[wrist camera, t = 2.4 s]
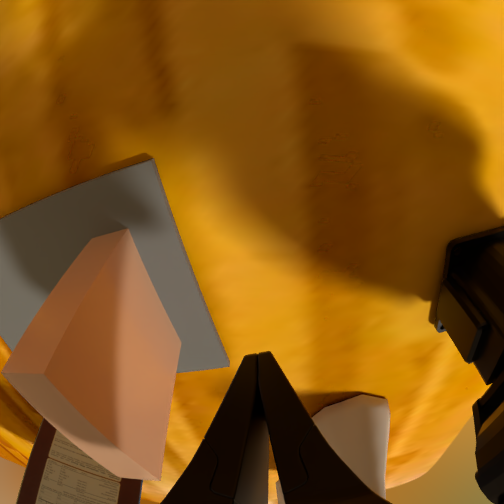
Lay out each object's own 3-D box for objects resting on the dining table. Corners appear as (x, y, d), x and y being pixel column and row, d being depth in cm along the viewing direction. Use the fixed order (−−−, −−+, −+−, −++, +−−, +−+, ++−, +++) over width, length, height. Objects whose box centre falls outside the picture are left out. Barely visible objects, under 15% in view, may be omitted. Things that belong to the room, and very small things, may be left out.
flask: (285, 423, 22) (298, 540, 13) (366, 380, 20) (404, 509, 11) (333, 444, 25) (350, 537, 16) (402, 408, 22) (434, 507, 14)
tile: (128, 228, 13) (43, 373, 6) (181, 342, 16) (160, 480, 10) (86, 239, 13) (-5, 372, 6) (144, 347, 17) (112, 476, 10)
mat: (153, 158, 12) (151, 160, 12) (229, 361, 18) (229, 366, 18) (-49, 244, 13) (-52, 247, 13) (36, 374, 19) (34, 378, 19)
